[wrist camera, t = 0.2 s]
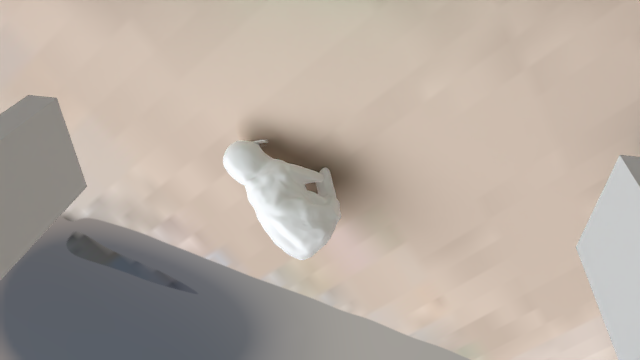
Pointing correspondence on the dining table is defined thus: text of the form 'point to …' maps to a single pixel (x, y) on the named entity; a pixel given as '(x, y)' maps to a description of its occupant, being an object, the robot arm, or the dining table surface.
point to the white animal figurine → (285, 198)
